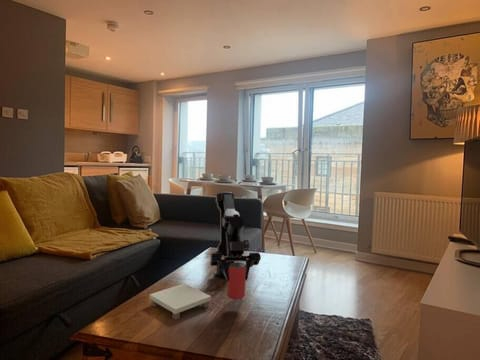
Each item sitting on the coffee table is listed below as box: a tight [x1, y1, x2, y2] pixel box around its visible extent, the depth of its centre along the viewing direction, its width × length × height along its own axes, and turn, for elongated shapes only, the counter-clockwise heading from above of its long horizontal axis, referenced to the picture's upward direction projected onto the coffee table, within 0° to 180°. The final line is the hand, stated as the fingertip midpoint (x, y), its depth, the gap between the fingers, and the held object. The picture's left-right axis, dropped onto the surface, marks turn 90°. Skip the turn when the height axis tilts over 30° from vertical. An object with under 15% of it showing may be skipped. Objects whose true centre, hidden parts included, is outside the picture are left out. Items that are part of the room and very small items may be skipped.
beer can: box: [226, 261, 246, 300], centre depth 121 cm, size 7×7×12 cm
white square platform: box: [148, 283, 212, 320], centre depth 122 cm, size 16×16×4 cm
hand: (237, 280), depth 120 cm, fingers closed on beer can, 7 cm apart
